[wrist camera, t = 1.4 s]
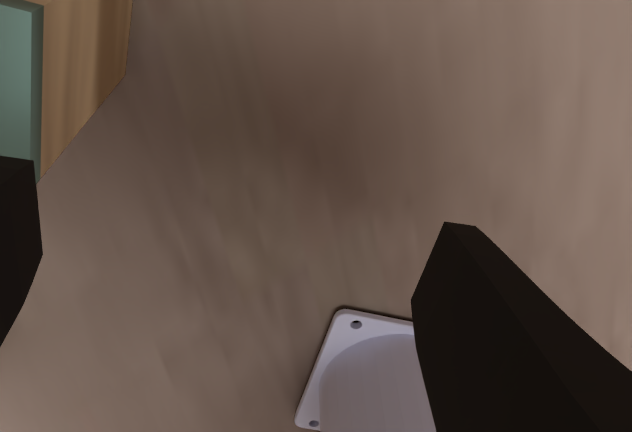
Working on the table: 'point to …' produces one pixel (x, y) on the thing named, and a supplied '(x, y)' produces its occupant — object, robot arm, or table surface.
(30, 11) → the block
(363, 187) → the table surface
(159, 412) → the table surface
